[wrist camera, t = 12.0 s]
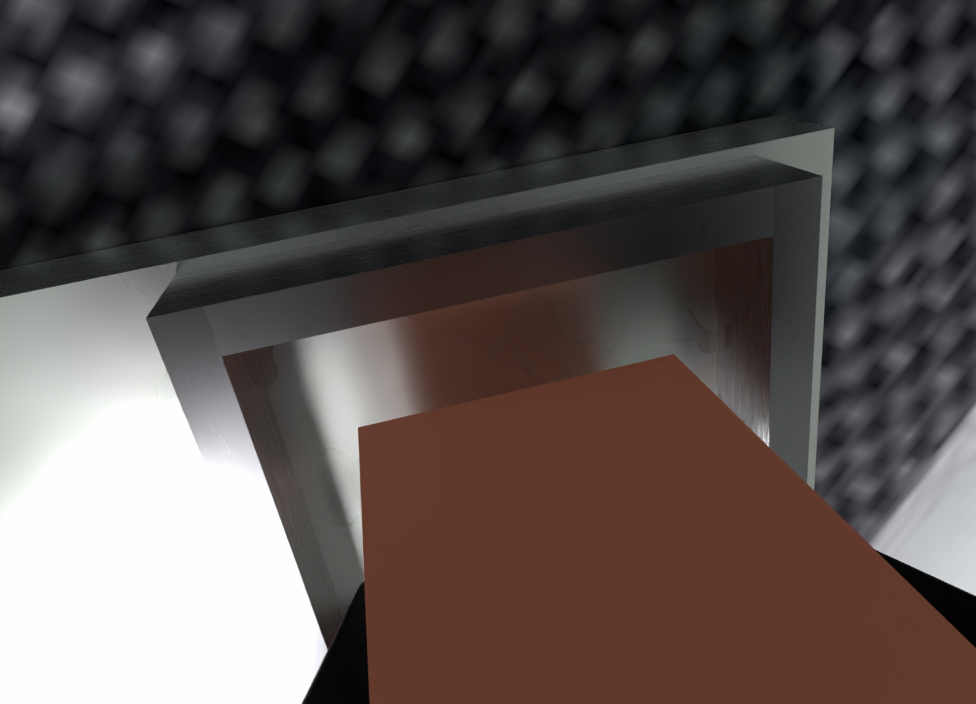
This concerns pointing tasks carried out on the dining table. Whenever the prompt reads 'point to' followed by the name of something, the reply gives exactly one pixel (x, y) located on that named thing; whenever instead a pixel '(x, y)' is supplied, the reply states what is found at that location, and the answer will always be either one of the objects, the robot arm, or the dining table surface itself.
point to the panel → (357, 387)
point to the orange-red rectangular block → (626, 560)
